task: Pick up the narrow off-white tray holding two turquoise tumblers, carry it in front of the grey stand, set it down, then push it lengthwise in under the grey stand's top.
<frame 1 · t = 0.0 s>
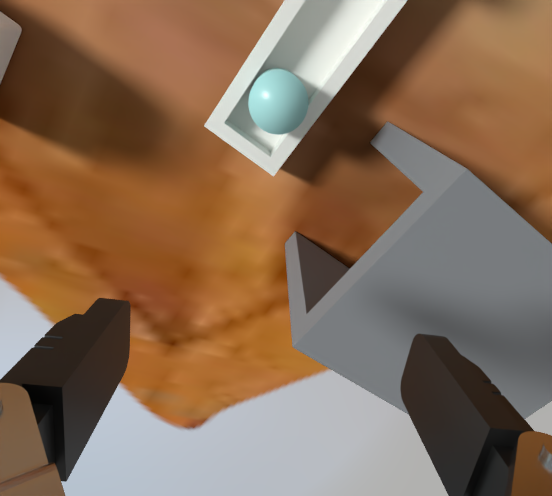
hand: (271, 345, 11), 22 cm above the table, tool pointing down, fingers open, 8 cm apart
tray: (334, 12, 26), on the table
grey stand: (401, 238, 34), on the table
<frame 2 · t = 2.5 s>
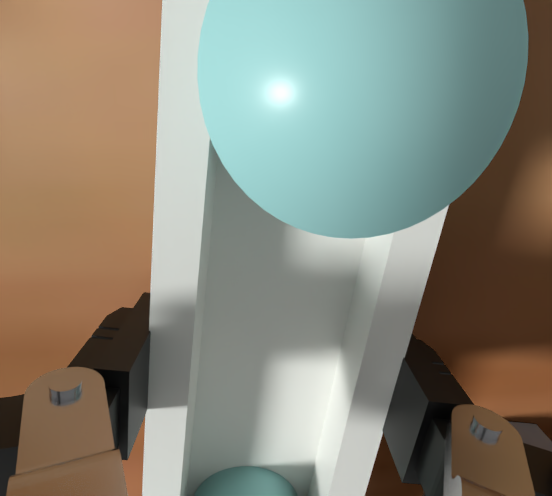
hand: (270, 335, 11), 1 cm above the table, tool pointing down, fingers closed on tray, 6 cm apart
tray: (271, 320, 12), on the table, touching gripper
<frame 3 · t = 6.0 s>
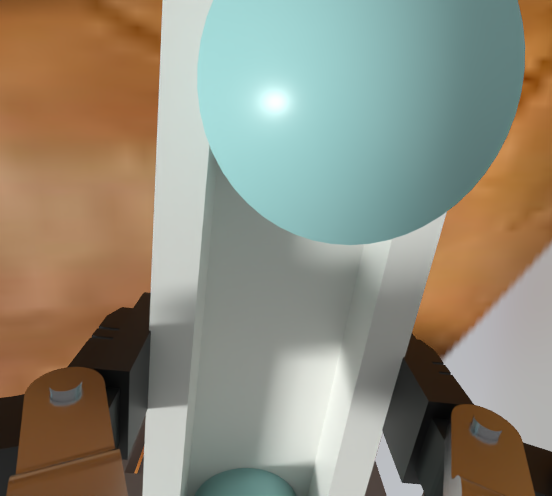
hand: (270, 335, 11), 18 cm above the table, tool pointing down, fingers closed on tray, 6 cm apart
tray: (270, 322, 12), point 17 cm above the table, touching gripper
grey stand: (239, 414, 34), on the table
when the fingers open (2 cm above the table, at t = 9.6 s): tray stays where it is, on the table.
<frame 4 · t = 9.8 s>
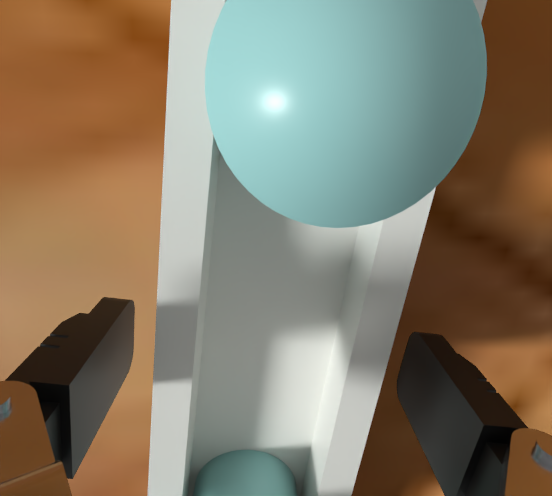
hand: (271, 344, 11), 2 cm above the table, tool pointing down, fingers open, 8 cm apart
tray: (269, 311, 13), on the table
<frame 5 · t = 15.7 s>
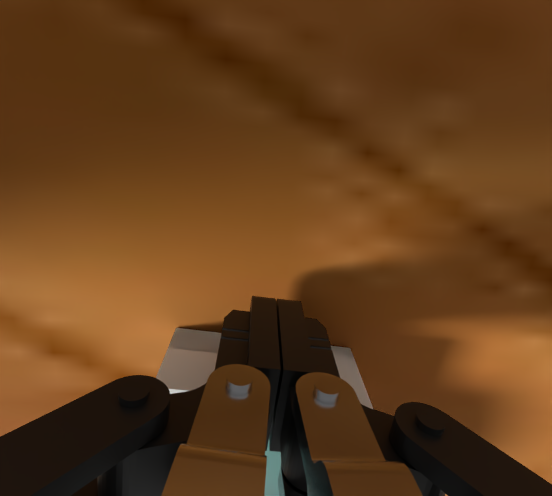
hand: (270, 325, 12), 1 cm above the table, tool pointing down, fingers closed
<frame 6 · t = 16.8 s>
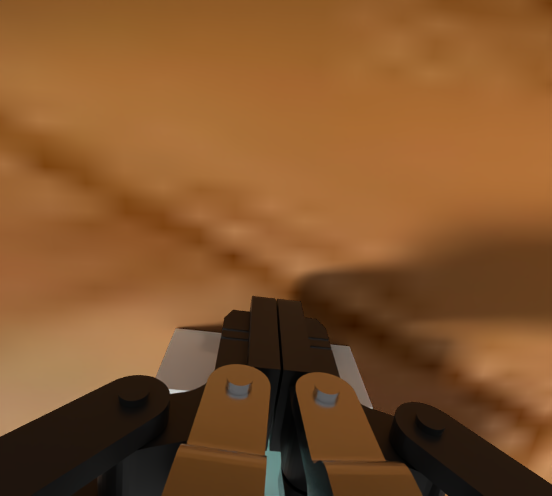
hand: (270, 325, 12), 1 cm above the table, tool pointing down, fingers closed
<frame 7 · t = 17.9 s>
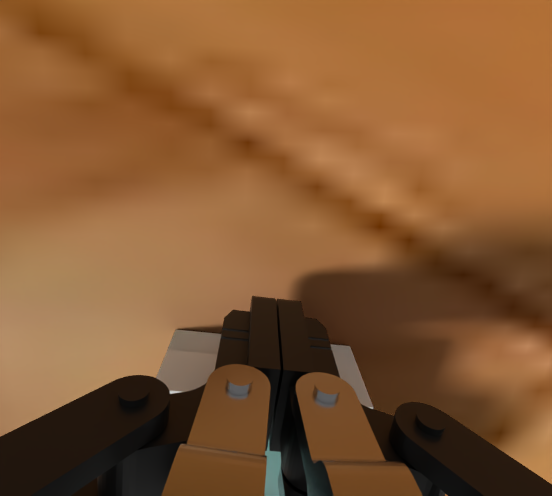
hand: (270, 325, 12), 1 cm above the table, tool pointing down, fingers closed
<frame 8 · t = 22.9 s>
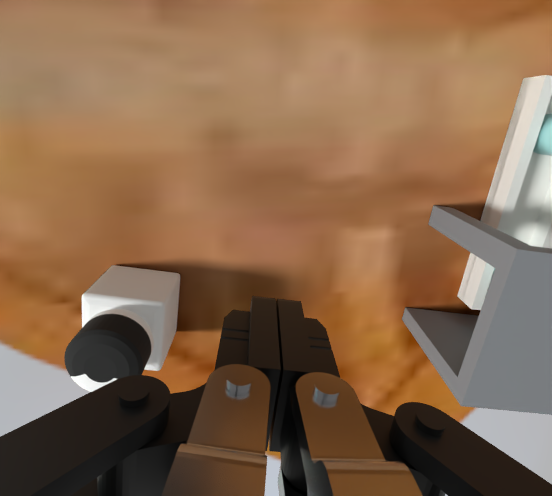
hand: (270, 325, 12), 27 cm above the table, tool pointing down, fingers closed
tray: (515, 200, 39), on the table
grey stand: (488, 274, 41), on the table
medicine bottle: (145, 298, 41), on the table
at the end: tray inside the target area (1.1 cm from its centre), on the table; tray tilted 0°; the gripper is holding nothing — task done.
